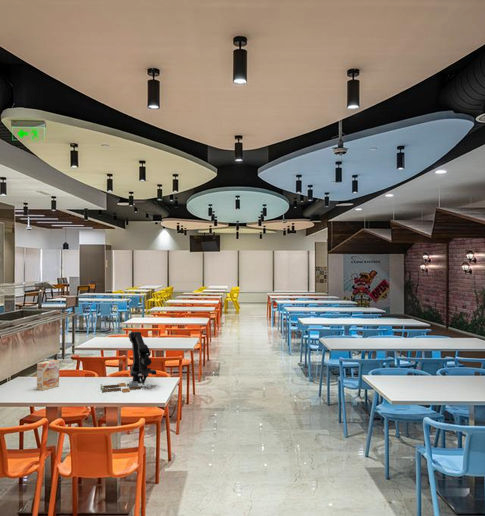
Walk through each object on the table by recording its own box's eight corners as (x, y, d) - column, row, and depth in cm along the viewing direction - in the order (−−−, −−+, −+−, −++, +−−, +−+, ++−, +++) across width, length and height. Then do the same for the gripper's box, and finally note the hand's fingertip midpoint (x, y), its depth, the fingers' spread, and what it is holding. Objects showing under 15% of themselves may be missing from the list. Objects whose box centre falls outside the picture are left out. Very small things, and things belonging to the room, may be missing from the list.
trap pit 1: (118, 385, 367) (118, 383, 367) (125, 384, 368) (125, 382, 368) (119, 386, 362) (119, 384, 362) (126, 386, 364) (126, 384, 364)
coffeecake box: (43, 390, 350) (43, 363, 350) (36, 389, 353) (36, 362, 353) (59, 386, 363) (59, 360, 363) (52, 385, 366) (53, 359, 367)
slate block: (129, 387, 361) (129, 381, 361) (137, 386, 363) (137, 381, 363) (129, 389, 356) (129, 383, 356) (138, 388, 358) (138, 383, 358)
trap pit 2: (121, 390, 350) (121, 388, 350) (128, 390, 352) (128, 388, 352) (122, 392, 345) (122, 390, 345) (129, 391, 347) (129, 389, 347)
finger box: (100, 388, 357) (100, 384, 357) (137, 385, 367) (137, 381, 367) (102, 392, 345) (102, 388, 345) (140, 389, 355) (140, 385, 355)
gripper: (132, 366, 352) (132, 387, 351) (158, 364, 359) (157, 385, 358) (130, 363, 362) (129, 384, 362) (154, 361, 369) (154, 382, 369)
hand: (143, 384), depth 362 cm, fingers closed
